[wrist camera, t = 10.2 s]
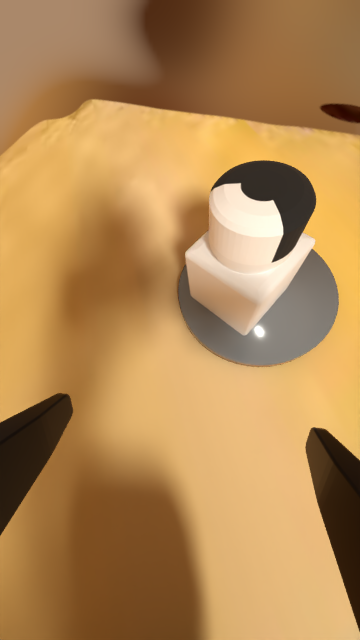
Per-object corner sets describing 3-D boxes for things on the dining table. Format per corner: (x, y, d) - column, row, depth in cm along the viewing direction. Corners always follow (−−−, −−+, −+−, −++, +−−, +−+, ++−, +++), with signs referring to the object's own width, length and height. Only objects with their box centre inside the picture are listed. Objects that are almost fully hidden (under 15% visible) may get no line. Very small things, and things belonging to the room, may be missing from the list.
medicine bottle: (231, 253, 26) (249, 131, 15) (287, 288, 23) (360, 173, 12) (189, 296, 24) (173, 196, 13) (244, 338, 22) (282, 258, 11)
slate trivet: (362, 344, 22) (372, 339, 20) (199, 384, 22) (199, 382, 21) (292, 224, 28) (296, 214, 27) (167, 256, 28) (165, 248, 27)
